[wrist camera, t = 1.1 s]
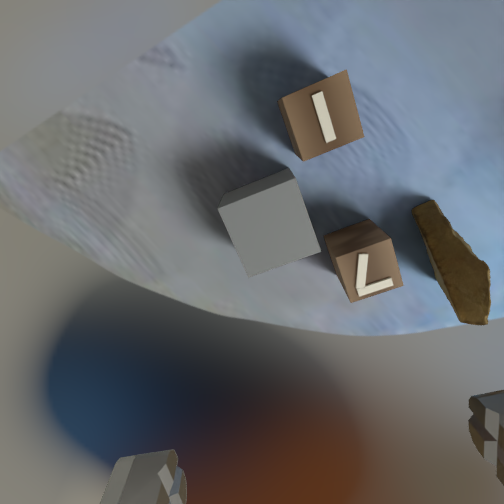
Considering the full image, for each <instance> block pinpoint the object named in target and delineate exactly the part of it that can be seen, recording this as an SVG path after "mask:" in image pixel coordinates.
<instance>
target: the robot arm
mask: <svg viewBox="0 0 504 504" xmlns="http://www.w3.org/2000/svg"><path fill="white" fill-rule="evenodd" d="M469 408H470V410H471V411H472V412H473V415H472V416H471V418H470V419H469V420H468V422H469V432H470V435H471V438H472V441H473V443H474V445H475V446H476V449H477V450H478V452H479V453H480V454H481V456H482V457H483V459H484V460H486V461H488V462H489V463H491V464H493V465H495V466H496V476H497V478H498V479H499V481H500V482H501V483H502V484H503V486H504V390H501V391H495V392H490V393H485V394H480V395H474V396H471V397H470V399H469ZM177 461H178V457H177V455H176V453H175V451H174V450H167V451H160V452H154V453H147V454H140V455H134V456H129V457H122V458H120V459H119V460H118V461H117V463H116V464H115V466H114V469H113V472H112V474H111V476H110V479H109V481H108V484H107V486H106V489H105V492H104V494H103V497H102V499H101V502H100V504H186V499H187V486H186V485H187V484H186V479H185V475H184V472H183V470H182V469H181V468H179V467H177Z"/></svg>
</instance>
